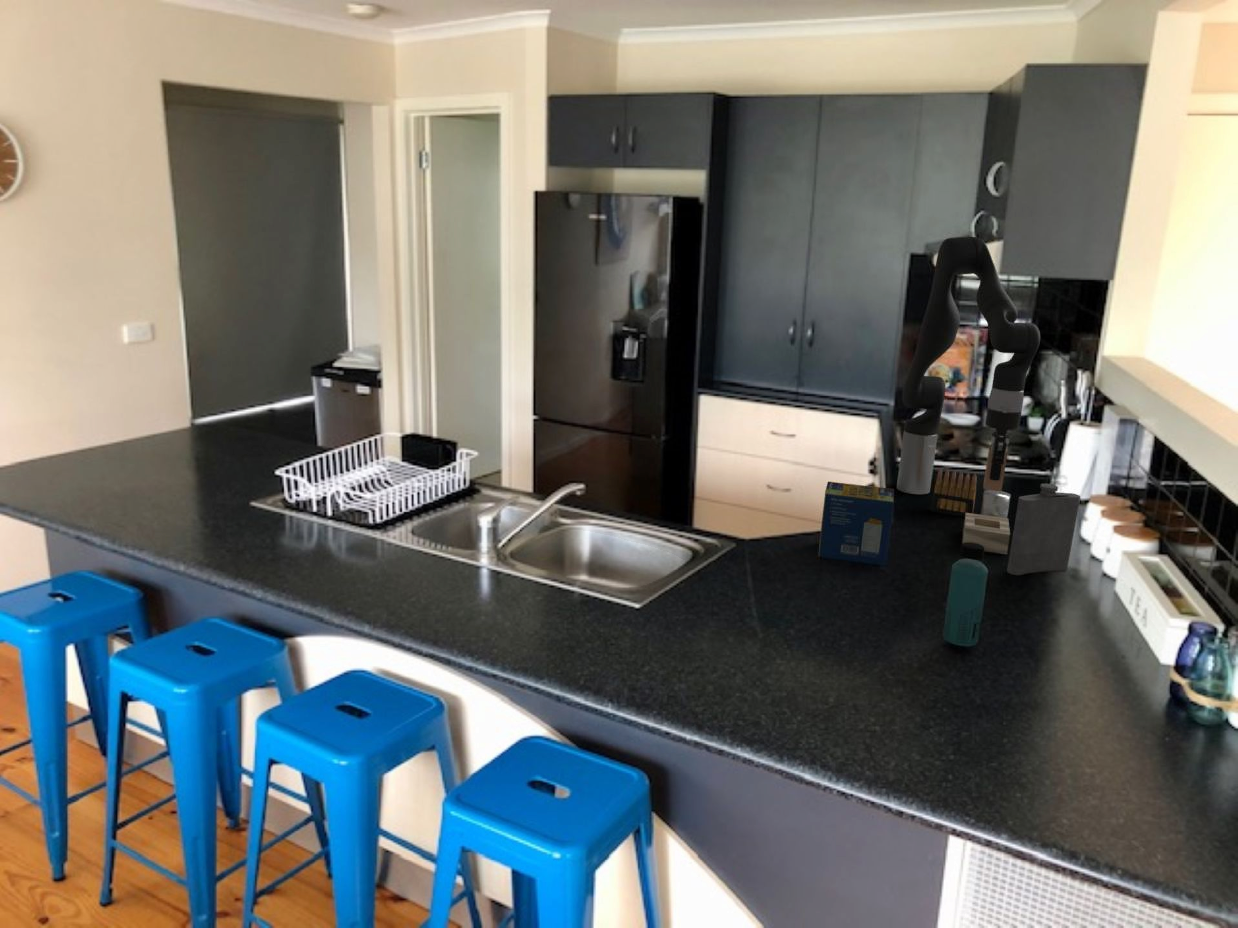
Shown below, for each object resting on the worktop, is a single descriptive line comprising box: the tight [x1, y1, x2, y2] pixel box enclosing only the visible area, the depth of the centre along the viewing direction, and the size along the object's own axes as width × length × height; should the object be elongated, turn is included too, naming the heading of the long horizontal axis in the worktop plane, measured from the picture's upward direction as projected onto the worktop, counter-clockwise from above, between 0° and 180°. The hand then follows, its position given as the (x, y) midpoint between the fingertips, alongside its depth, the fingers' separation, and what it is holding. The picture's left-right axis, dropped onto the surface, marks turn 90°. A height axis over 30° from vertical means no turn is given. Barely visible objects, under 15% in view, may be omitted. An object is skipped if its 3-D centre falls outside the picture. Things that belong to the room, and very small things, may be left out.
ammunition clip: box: [930, 467, 977, 518], centre depth 253 cm, size 11×2×12 cm, turn 61°
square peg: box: [982, 444, 1009, 491], centre depth 228 cm, size 4×4×10 cm
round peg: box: [979, 489, 1012, 519], centre depth 244 cm, size 6×6×9 cm
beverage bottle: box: [942, 542, 989, 647], centre depth 174 cm, size 6×7×20 cm
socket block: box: [962, 513, 1011, 555], centre depth 233 cm, size 13×10×5 cm
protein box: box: [818, 481, 895, 567], centre depth 220 cm, size 10×15×16 cm
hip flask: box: [1006, 483, 1081, 576], centre depth 214 cm, size 16×4×20 cm, turn 109°
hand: (994, 477), depth 229 cm, fingers closed on square peg, 4 cm apart
